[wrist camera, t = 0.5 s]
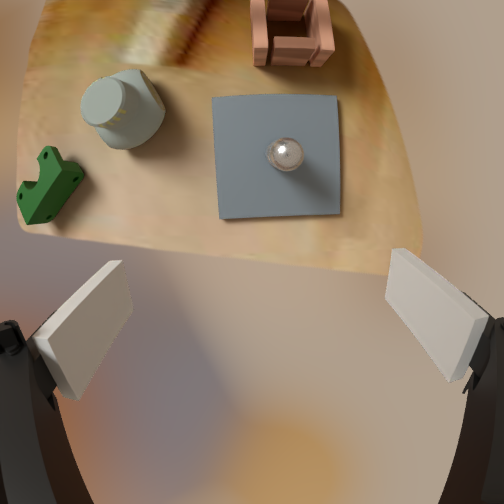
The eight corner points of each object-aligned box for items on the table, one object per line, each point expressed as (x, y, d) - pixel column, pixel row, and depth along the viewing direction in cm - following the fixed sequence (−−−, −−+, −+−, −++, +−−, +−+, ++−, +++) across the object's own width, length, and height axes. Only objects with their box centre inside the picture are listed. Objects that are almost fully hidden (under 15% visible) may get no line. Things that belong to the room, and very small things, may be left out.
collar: (250, 13, 29) (250, -11, 22) (314, 14, 29) (325, -8, 22) (253, 66, 32) (254, 47, 25) (320, 66, 31) (335, 50, 25)
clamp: (79, 158, 39) (57, 133, 30) (93, 183, 39) (71, 161, 30) (28, 203, 37) (0, 188, 28) (41, 230, 37) (11, 218, 28)
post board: (212, 99, 33) (211, 97, 32) (334, 97, 33) (336, 95, 32) (220, 217, 38) (219, 219, 37) (337, 212, 38) (339, 214, 37)
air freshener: (177, 126, 34) (153, 117, 25) (128, 159, 35) (92, 162, 26) (143, 66, 31) (113, 44, 22) (97, 100, 32) (59, 89, 23)
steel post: (264, 141, 34) (269, 136, 25) (292, 140, 34) (306, 135, 25) (265, 168, 35) (270, 172, 26) (293, 167, 35) (307, 172, 26)
